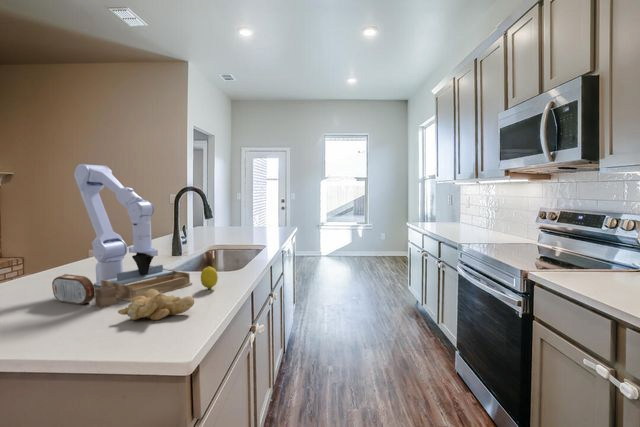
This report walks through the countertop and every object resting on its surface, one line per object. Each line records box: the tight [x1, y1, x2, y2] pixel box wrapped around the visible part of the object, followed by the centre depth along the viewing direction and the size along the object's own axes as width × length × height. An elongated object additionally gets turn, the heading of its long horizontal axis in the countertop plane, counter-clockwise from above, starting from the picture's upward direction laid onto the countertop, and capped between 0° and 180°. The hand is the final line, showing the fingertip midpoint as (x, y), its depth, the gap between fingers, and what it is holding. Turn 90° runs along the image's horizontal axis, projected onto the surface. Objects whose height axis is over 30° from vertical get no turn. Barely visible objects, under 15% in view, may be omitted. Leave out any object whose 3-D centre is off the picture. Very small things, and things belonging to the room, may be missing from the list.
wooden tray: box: [100, 267, 193, 303], centre depth 124 cm, size 19×23×4 cm
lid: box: [107, 264, 173, 285], centre depth 126 cm, size 8×20×3 cm, turn 147°
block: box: [94, 286, 117, 308], centre depth 108 cm, size 4×4×5 cm
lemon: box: [200, 265, 219, 290], centre depth 122 cm, size 6×6×8 cm
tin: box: [51, 273, 96, 306], centre depth 110 cm, size 15×3×8 cm, turn 71°
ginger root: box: [117, 289, 195, 321], centre depth 97 cm, size 16×16×8 cm
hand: (144, 274), depth 125 cm, fingers closed
